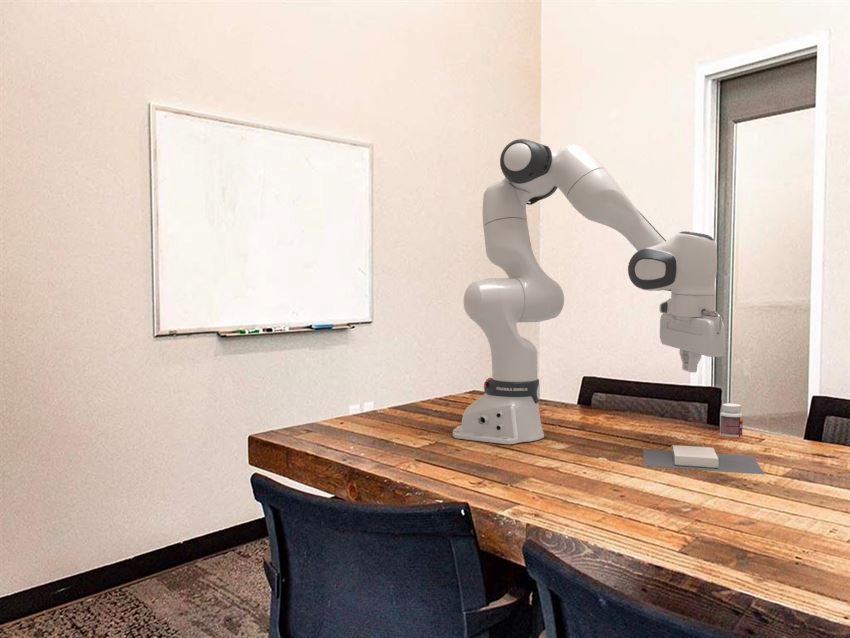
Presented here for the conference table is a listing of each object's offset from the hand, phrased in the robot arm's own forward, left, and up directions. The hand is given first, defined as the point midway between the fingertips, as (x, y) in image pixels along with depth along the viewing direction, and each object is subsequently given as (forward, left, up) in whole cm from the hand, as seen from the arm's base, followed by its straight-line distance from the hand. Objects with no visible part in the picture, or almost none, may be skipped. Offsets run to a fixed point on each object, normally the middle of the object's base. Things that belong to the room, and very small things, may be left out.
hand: (689, 371), depth 140 cm
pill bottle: (+11, +17, -18) cm, 27 cm away
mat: (+2, -7, -18) cm, 20 cm away
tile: (+1, -4, -17) cm, 17 cm away
